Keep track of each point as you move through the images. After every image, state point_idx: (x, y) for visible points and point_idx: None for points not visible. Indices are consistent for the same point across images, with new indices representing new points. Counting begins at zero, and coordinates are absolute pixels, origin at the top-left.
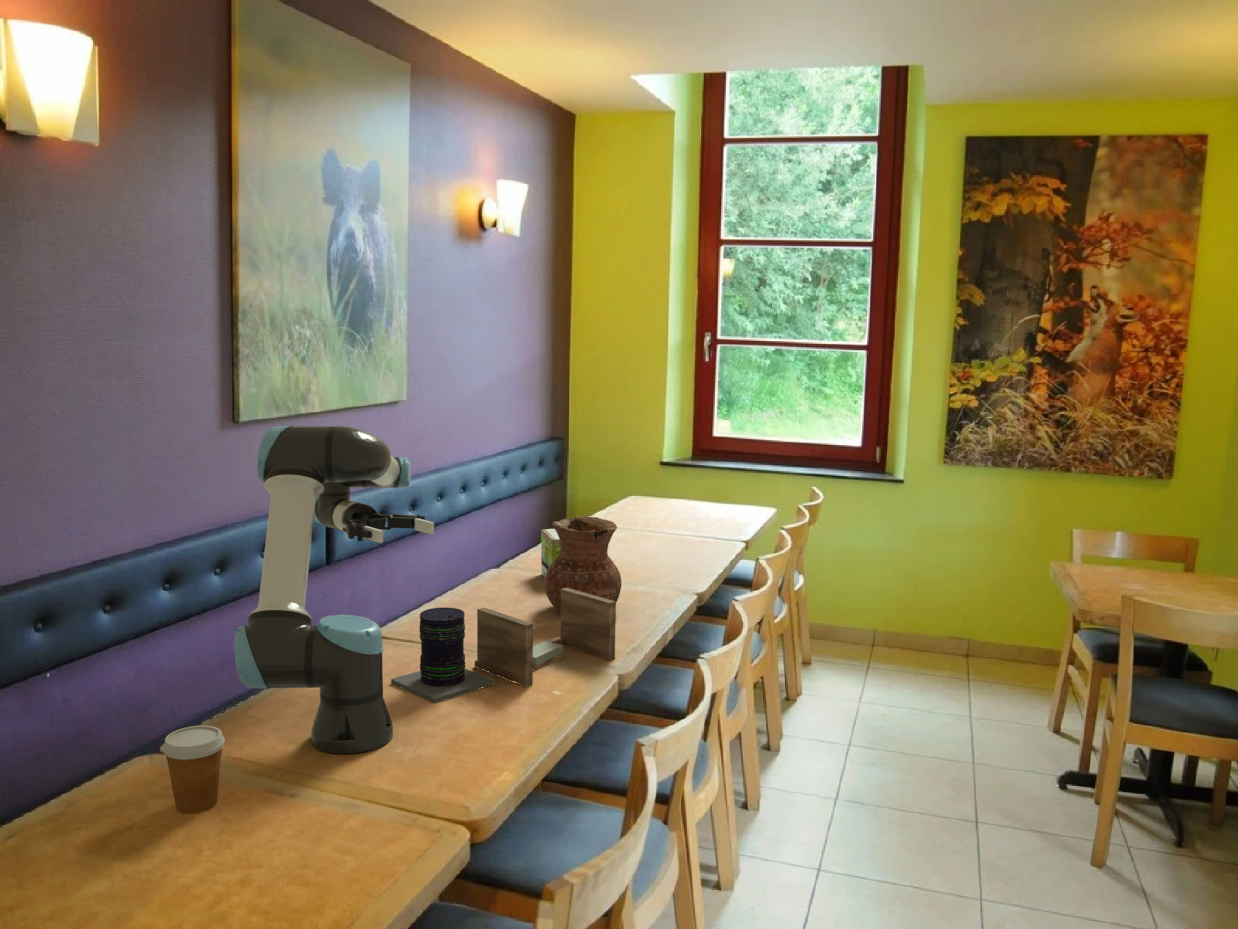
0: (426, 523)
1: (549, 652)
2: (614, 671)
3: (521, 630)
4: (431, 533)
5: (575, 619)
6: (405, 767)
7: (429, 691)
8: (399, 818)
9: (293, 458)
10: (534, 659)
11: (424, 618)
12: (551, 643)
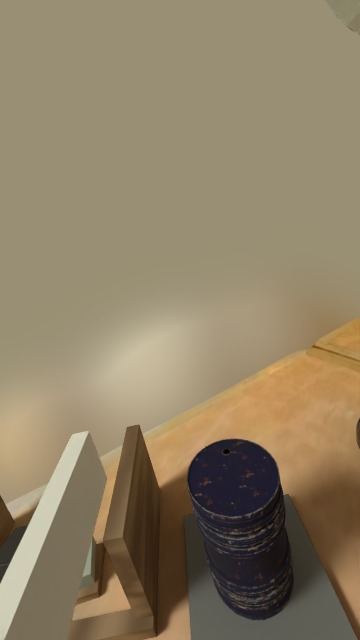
0: (79, 472)
1: None
2: None
3: (140, 438)
4: (104, 474)
5: None
6: (344, 390)
7: (289, 523)
8: (351, 352)
9: None
10: (93, 539)
11: (275, 461)
12: None
